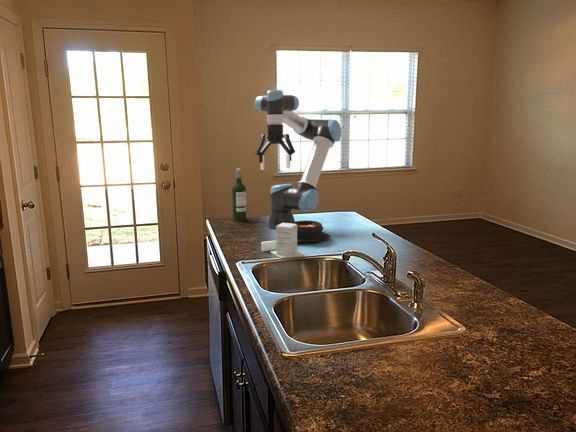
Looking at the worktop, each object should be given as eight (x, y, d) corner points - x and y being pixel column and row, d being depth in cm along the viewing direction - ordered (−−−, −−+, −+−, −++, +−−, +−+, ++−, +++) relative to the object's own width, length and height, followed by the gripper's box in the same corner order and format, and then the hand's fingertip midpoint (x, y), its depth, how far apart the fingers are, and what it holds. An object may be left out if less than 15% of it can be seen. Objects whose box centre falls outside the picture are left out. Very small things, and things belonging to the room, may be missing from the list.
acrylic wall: (293, 246, 224) (293, 238, 223) (294, 247, 223) (294, 238, 222) (261, 250, 217) (261, 242, 216) (262, 251, 216) (262, 242, 215)
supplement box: (282, 249, 217) (282, 222, 214) (297, 251, 214) (297, 223, 212) (275, 254, 210) (275, 225, 208) (291, 255, 208) (291, 227, 205)
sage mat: (292, 249, 220) (292, 248, 219) (303, 255, 210) (303, 254, 210) (270, 252, 215) (270, 251, 215) (280, 258, 205) (280, 257, 205)
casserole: (319, 233, 249) (320, 217, 247) (337, 242, 232) (338, 225, 230) (275, 238, 239) (275, 222, 237) (290, 247, 222) (290, 230, 220)
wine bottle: (239, 222, 274) (238, 169, 268) (229, 220, 279) (228, 168, 273) (249, 219, 280) (248, 168, 274) (239, 218, 285) (238, 167, 279)
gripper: (294, 123, 236) (294, 166, 240) (247, 124, 225) (248, 169, 229) (302, 123, 229) (301, 168, 234) (253, 124, 218) (254, 171, 223)
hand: (275, 168), depth 232 cm, fingers open, 13 cm apart
